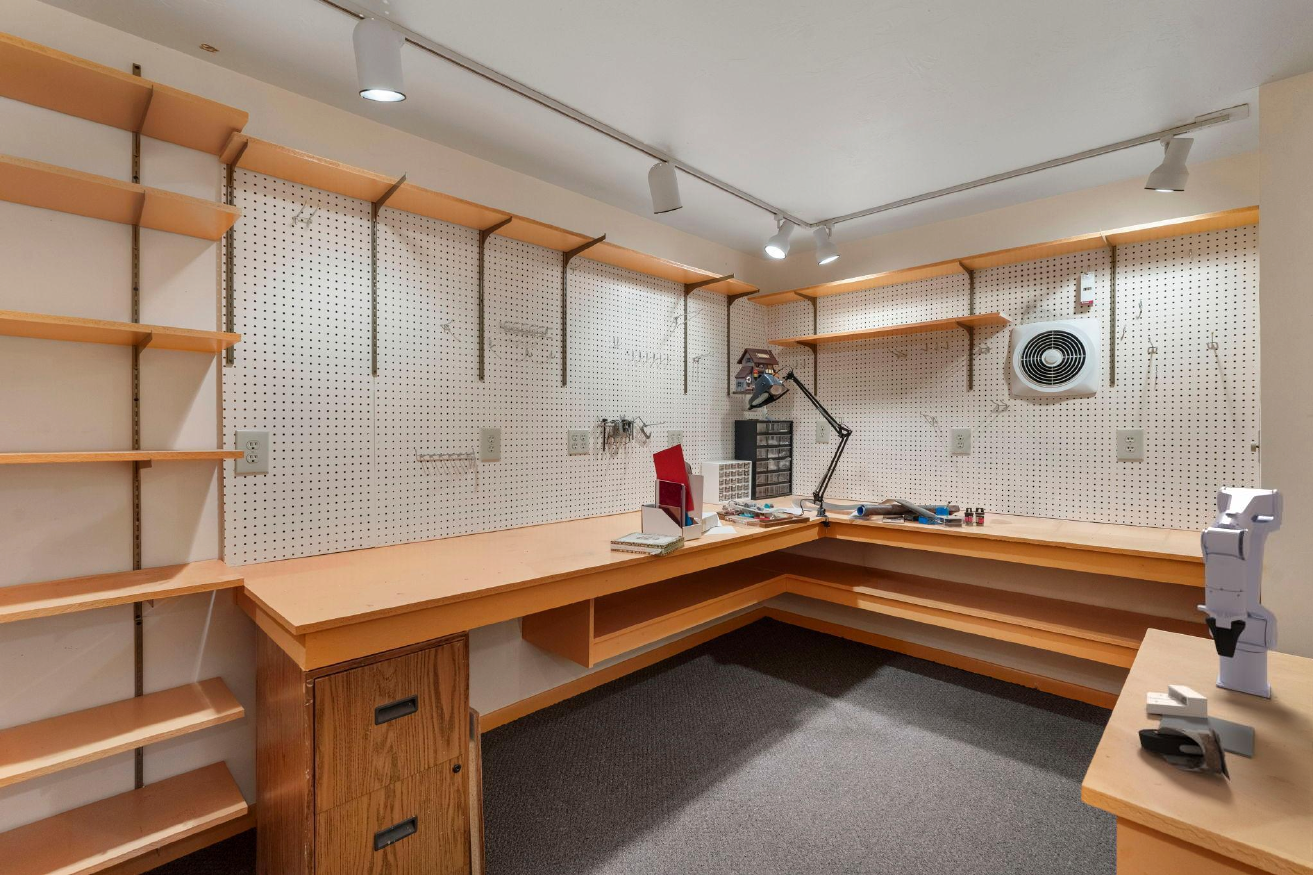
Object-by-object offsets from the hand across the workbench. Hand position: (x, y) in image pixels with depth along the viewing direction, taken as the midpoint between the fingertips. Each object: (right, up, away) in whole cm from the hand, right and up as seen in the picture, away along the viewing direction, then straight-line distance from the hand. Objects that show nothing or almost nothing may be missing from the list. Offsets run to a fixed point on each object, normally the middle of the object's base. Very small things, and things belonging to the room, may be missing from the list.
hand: (1225, 655), depth 113 cm
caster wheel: (-27, -11, -19) cm, 35 cm away
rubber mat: (-13, -10, -9) cm, 19 cm away
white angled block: (-8, -8, -2) cm, 12 cm away
